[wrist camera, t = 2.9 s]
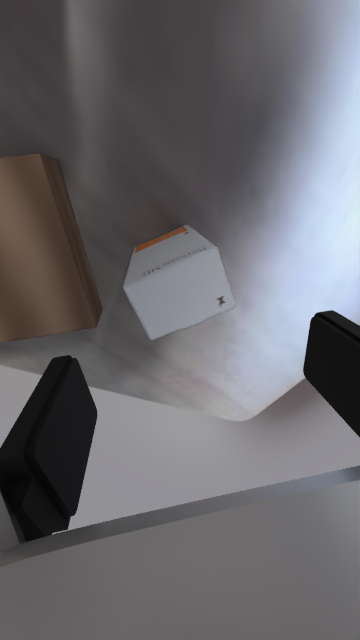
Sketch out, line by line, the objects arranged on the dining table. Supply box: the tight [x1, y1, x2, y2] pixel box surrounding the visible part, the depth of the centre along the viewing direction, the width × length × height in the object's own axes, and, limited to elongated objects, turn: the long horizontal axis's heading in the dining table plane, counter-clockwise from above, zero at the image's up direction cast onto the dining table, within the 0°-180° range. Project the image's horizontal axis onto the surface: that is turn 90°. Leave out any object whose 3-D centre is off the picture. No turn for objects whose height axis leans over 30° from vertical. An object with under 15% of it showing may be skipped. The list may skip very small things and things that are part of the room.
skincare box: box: [123, 224, 236, 340], centre depth 20 cm, size 6×4×12 cm
